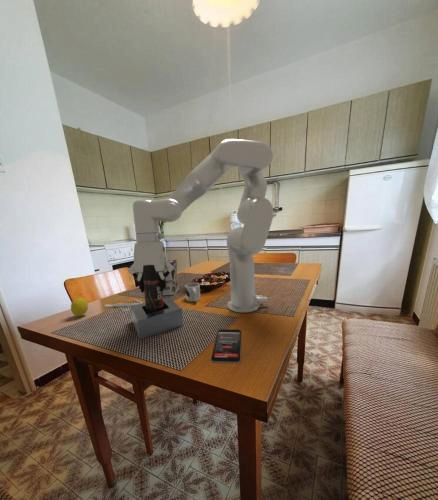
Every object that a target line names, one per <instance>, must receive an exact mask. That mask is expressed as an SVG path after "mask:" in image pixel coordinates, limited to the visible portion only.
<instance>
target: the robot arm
mask: <svg viewBox="0 0 438 500" xmlns="http://www.w3.org/2000/svg"><path fill="white" fill-rule="evenodd" d="M273 157H274V153H273V149H272V148H271V146H270V145H269V144H267V143H265V142H263V141H259V140H248V139H238V138H226V139H224V140H221V141H220V143H218V145H217V146H216V147H215V148H214V150H212V151H211V152H210V153H209V154H208V155H207V156H206V157H205V158H204V159H203V160H201V162H200V163H199V164H198V165H197V166H196V167H195V168H193V169H192V170H191V171H190V173H188V175H187V176H186V177H185V178H184V179H183V181H182V183H181V184H180V185H179V186H178V187H177V188H176V189H175V190H174V191H173V192H172V193H171V194H170V195H169V196H168V197H167V198H164V199H162V198H161V199H155V200H151V199H138V200H135V201H134V202H133V203H132V213H133V222H134V231H135V240H136V241H135V243H134V246H133V247H134V248H133V263H132V265H130V267H129V268H128V269H127V272H128V273H129V274H130V275H132V277H134V278H135V279H136V281H137V282H138V286H139V290H140V293H144V285H143V275H142V273H143V266H146V265H154V267H155V270H156V272H158V273H159V275H160V277H161V280H160V289H161V291H164V289H165V288H166V277H167V276H168V275H169V273H170V272H171V271H172V270H173V269H174V266H172V265H171V264H170V263H169V262H168V261H167V260H168V258H167V252H166V248H165V245H164V241H161V240H162V239H165V234H164V233H161V232H160V224H159V223H160V222H164V223H174V222H176V221H178V220H179V219H180V218H181V217H182V214H183V213H184V211H185V210H186V209H188V208H189V207H190V206H191V205H192V204H194V202H195V201H197V200H199V199H200V198H201V197H203V196H205V194H206V193H208V191H210V190H211V189H212V187H214V186H215V184H217V182H219V181H220V179H221V178H223V177H224V175H226V174H227V173H228V172H229V171H230V170H232V168H234V167H237V170H238V173H239V174H240V175H241V177H242V179H243V182H244V188H243V192H242V197H241V198H240V202H239V205H238V208H237V213H236V216H237V217H236V218H237V220H238V221H239V223H241V224H243V227H242V226H241V227H234V228H233V229H231V230H230V232H228V234H227V237H226V247H227V253H228V259H229V279H230V298H231V299H230V301H228V303H227V308H228V309H229V310H231V311H233V312H235V313H243V314H244V313H252V312H255V311H257V310H258V309H259V308H260V303H262V302H263V303H266V302H268V297H267V296H263V295H257V294H256V284H255V261H254V256H255V255H258V254H259V253H261V251H262V250H263V249H264V247H265V245H266V242H267V239H268V236H269V232H270V229H271V226H272V223H273V219H274V207H273V204H272V202H271V201H270V200H269V199H268V198H266V193H267V189H268V184H267V180H266V178H265V176H264V173H263V171H264V169H267V168H268V167H269V166H270V165H271V163H272V161H273ZM167 267H168V268H169V269H168V270H167V271H166V273H165V272H164V269H166V268H167Z"/></svg>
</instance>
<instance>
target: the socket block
mask: <svg viewBox="0 0 438 500" xmlns="http://www.w3.org/2000/svg"><path fill="white" fill-rule="evenodd" d="M163 303H164V306H163V307H161V308H159V309H155V310H148V309H146V304H145V302H142V303H141V304H140V303H137V305H133V306H130V309H131V310H130V311H131V319H132V323H133V326H134V328H135V331H136V334H137V337H138V338H139V340H143V339H146V338H148V337H152V336H154V335H158V334H161V333H164V332H167V331H169V330H173V329H176V328H179V327H182V326H184V323H183V322H184V321H183V320H184V319H183V311H182V310H183V309H182V308H181V306H180V305H178V304H177V303H176V302H175V301H174V300H173V299H172V298H170V296H167V297H163Z"/></svg>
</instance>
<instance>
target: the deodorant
mask: <svg viewBox="0 0 438 500" xmlns="http://www.w3.org/2000/svg"><path fill="white" fill-rule="evenodd" d="M142 275H143V285H144V292H143V294H144V303H145V304H146V309H148V310H155V309H159V308H161V307H163V306H164V303H163V298H164V295H163V292H162V291H161V289H160V280H161V277H160V275H159V273H158V272H156V270H155V267H154V265H146V266H143V273H142Z"/></svg>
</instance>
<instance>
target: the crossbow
mask: <svg viewBox="0 0 438 500" xmlns="http://www.w3.org/2000/svg"><path fill="white" fill-rule="evenodd" d="M132 300H134V302H137V301H138V302H137V303H126V302H130V301H131V299H130V300H126V301H125V303H124V301H123V302H121V303H120V302H119V303H118V302H117V303H114V304H105V305H103V306H104V309H109V308H111V309H112V308H119V309H121V310H122V312H123V313H125V312H129V311H131V308H127V309H123V307H124V306H128V307H131V306H133V305H137V304H138V303H139V304H141V303H143V302H142V301H140V300H139V299H136V298H133V299H132Z"/></svg>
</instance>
